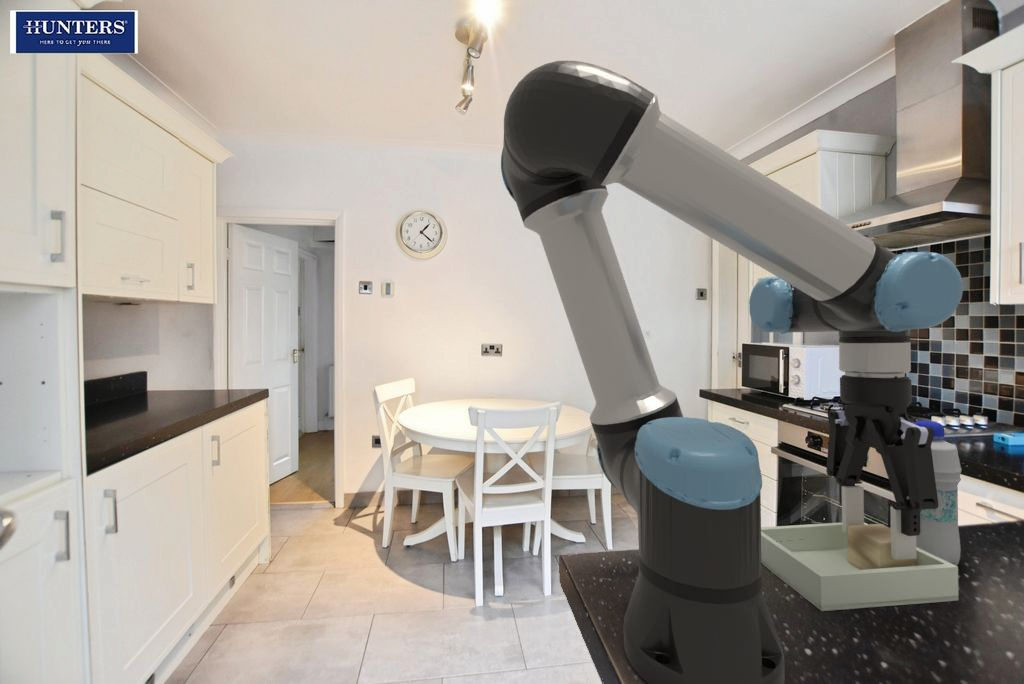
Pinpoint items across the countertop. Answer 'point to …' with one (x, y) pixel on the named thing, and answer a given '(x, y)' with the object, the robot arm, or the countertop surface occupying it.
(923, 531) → the bottle
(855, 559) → the cube
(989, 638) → the countertop surface
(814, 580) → the tote
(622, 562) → the countertop surface
